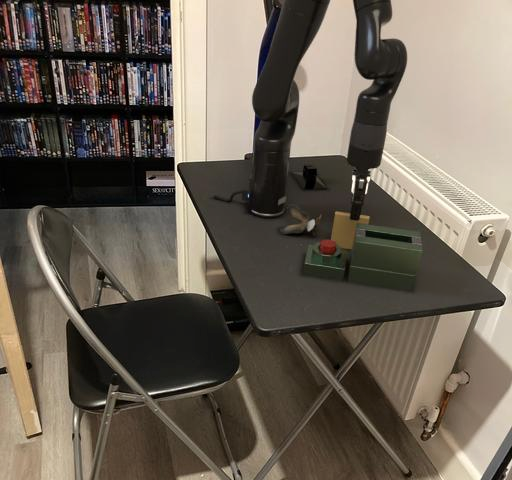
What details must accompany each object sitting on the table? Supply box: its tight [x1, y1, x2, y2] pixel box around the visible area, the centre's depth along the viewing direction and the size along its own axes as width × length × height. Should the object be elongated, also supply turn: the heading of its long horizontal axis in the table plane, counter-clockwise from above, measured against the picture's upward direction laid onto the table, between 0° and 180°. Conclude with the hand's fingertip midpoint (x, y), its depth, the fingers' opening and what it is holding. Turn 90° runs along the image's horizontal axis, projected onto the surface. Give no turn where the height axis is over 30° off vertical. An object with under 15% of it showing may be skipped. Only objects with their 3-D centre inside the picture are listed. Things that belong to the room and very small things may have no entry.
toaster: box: [347, 223, 423, 292], centre depth 126 cm, size 14×9×10 cm, turn 80°
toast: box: [330, 211, 370, 250], centre depth 136 cm, size 8×2×8 cm, turn 80°
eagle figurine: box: [279, 203, 323, 238], centre depth 141 cm, size 8×7×9 cm
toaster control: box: [302, 241, 348, 282], centre depth 129 cm, size 9×9×5 cm
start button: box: [319, 238, 336, 253], centre depth 127 cm, size 4×4×2 cm
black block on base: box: [291, 163, 328, 191], centre depth 168 cm, size 12×7×5 cm, turn 14°
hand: (354, 211), depth 133 cm, fingers open, 8 cm apart
